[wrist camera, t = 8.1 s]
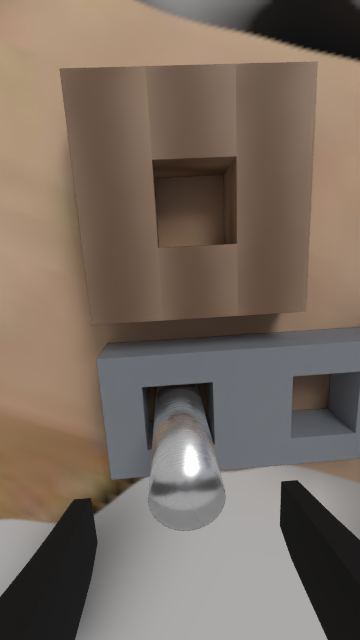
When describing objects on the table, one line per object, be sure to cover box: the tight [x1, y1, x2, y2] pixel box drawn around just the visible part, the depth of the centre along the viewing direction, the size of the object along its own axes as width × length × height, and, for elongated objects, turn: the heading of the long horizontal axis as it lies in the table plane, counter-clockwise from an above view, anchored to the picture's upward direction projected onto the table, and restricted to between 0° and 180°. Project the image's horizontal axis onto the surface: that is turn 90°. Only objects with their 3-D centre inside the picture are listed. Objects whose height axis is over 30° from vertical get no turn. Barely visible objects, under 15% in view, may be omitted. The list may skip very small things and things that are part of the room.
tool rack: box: [96, 327, 360, 480], centre depth 18 cm, size 18×8×3 cm, turn 93°
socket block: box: [60, 62, 318, 325], centre depth 15 cm, size 12×12×3 cm
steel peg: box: [148, 383, 225, 531], centre depth 15 cm, size 3×3×9 cm
